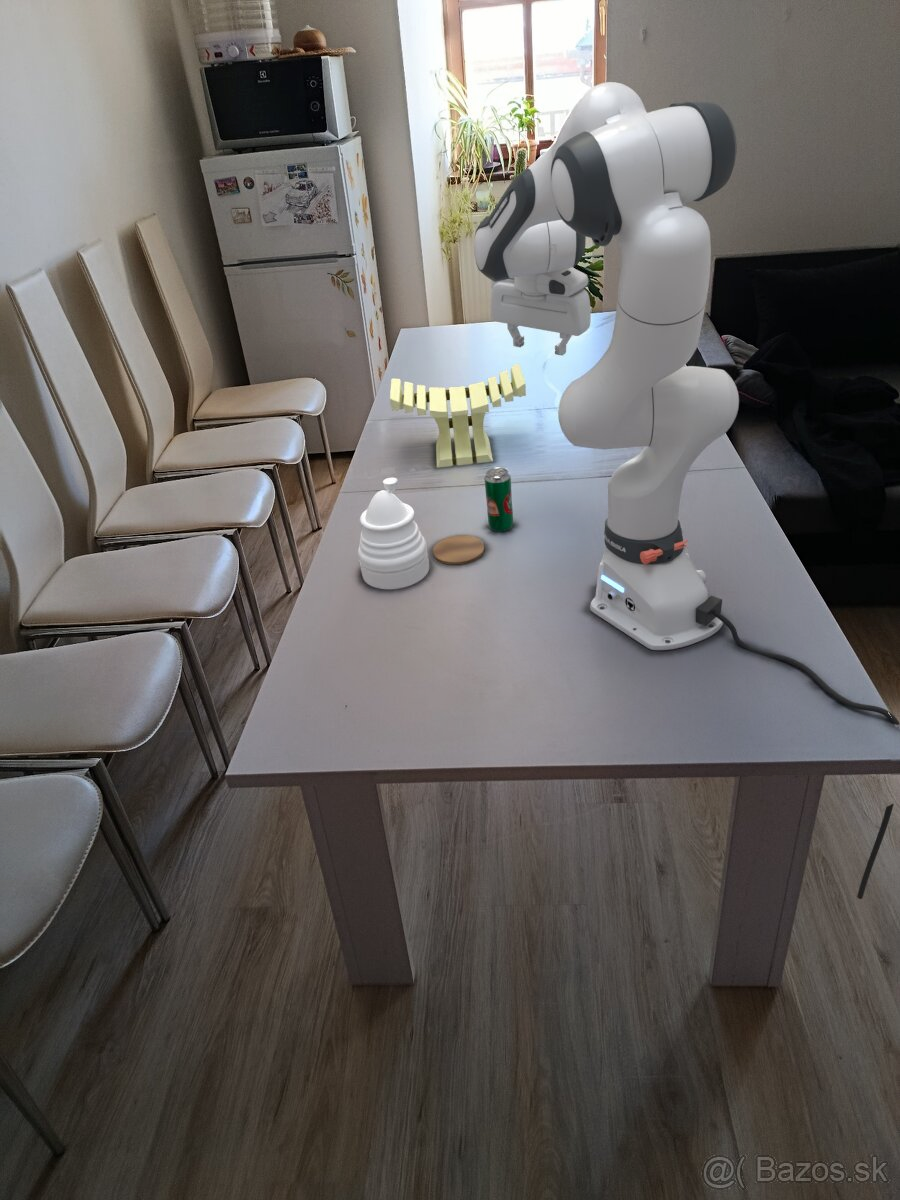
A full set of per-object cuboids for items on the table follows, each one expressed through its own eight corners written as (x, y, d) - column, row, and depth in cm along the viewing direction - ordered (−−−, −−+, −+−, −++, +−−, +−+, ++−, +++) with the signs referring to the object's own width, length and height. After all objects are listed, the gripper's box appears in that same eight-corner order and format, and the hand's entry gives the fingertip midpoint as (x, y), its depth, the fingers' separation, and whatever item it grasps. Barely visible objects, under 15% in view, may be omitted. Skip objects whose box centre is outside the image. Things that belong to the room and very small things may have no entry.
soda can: (484, 524, 161) (479, 471, 154) (506, 517, 162) (502, 464, 155) (495, 535, 157) (491, 480, 150) (518, 528, 158) (514, 473, 151)
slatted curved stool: (521, 430, 197) (518, 359, 187) (529, 457, 184) (525, 383, 174) (402, 443, 198) (391, 374, 188) (401, 471, 185) (389, 398, 175)
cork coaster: (493, 555, 151) (492, 552, 151) (444, 570, 148) (444, 567, 148) (472, 532, 159) (471, 530, 158) (425, 546, 156) (425, 544, 156)
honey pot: (402, 545, 158) (389, 462, 147) (443, 568, 149) (432, 482, 139) (349, 571, 151) (331, 487, 141) (388, 597, 143) (372, 509, 133)
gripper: (481, 274, 148) (485, 346, 156) (578, 288, 137) (576, 365, 146) (501, 264, 151) (503, 336, 160) (596, 277, 141) (593, 353, 149)
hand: (539, 350), depth 153 cm, fingers open, 8 cm apart
